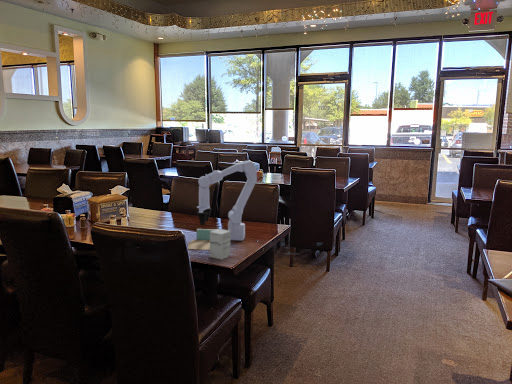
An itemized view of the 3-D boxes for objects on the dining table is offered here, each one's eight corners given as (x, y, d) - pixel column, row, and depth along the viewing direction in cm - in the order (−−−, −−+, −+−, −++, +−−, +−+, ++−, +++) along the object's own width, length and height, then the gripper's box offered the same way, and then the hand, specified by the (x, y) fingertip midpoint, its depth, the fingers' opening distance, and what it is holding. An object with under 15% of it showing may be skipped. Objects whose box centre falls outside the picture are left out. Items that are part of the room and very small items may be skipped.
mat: (221, 241, 203) (221, 240, 203) (215, 250, 187) (215, 250, 187) (192, 240, 205) (192, 239, 205) (184, 249, 189) (184, 248, 189)
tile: (215, 240, 206) (215, 229, 205) (214, 241, 204) (214, 230, 203) (197, 239, 207) (197, 228, 206) (196, 240, 205) (196, 229, 204)
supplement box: (209, 257, 178) (209, 231, 176) (218, 253, 184) (218, 228, 182) (221, 260, 174) (221, 233, 172) (230, 255, 180) (231, 230, 178)
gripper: (200, 196, 210) (200, 219, 212) (193, 200, 196) (193, 226, 198) (212, 196, 209) (212, 220, 211) (206, 201, 195) (206, 226, 197)
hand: (204, 223), depth 204 cm, fingers open, 7 cm apart
